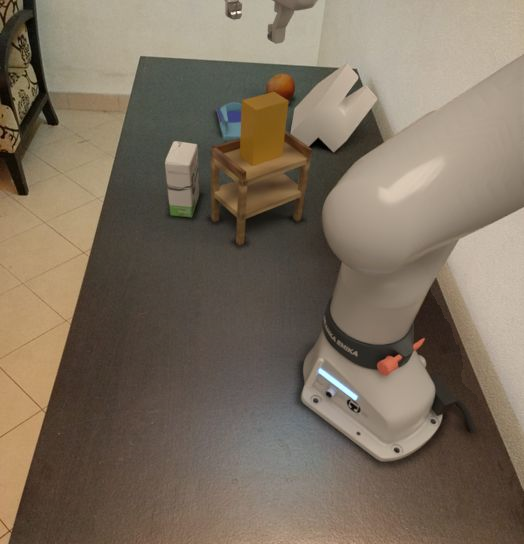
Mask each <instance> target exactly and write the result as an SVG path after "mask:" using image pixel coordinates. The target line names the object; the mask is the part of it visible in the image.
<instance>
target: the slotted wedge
mask: <svg viewBox="0 0 524 544" xmlns="http://www.w3.org/2000/svg"><path fill="white" fill-rule="evenodd" d="M358 80H359V75H358V74H357V73H356V72H355V71H354V69H353V68H352V67H351V66H350V65H349V64H348V63H347V62H346V63H344V64H343V65H341V66H340V67H339V68H337V69H336V70H335V71H333V72H332V73H330V74H329V75H328V76H326V77H325V78H323V79H322V80H321V81H319V82H318V83H316V85H315V86H314V87H313V88H312V89H311V90H310V91H309V92H308V93H307V95H305V97H304V98H303V99H301V101H300V102H298V104H297V105H296V106H295V107H294V109H293V116H292V121H291V127H290V132H289V133H290V134H291V135H293V136H294V137H295V138H297V139H298V140H300V141H301V142H303V143H304V144H306V145H307V146H309V147H310V146H311V145H312V144H313V143H314V142H315V141H317V139H319V140H320V141H322V143H323V144H324V145H325V146H327V148H328V149H329V150H330V151H331V152H332V153H335V152H336V151H337V150H338V149H339V148H341V147H342V145H344V144H345V143H346V142H347V141H348V139H349V138H350V137H351V135H352V134H353V133H354V131H355V130H356V129H357V127H358V126H359V125H360V123H361V122H362V121H363V119H364V118H365V117H366V115H367V114H368V113H369V112H370V110H371V109H372V108H373V107H374V105H375V104H376V103H377V101H378V97H377V96H376V94H375V93H374V92H373V91H372V90H371V89H370V87H368V85H367V84H365V85H363V86H362V87H359V89H356V90H355V91H354V92H352V93H351V94H349V95H348V93H349V92H350V91H351V89H352V88H353V86H354V85H355V84H356V83H357V82H358ZM347 95H348V96H347Z"/></svg>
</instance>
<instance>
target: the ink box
mask: <svg viewBox="0 0 524 544" xmlns="http://www.w3.org/2000/svg"><path fill="white" fill-rule="evenodd" d="M164 168H165V179H166V189H167V199H168V207H169V208H168V209H169V215H170V216H173V217H183V218H193V217H194V213H195V210H196V207H197V203H198V200H199V196H200V177H199V174H200V173H199V149H198V144H197V143H191V142H185V141H178V140H174V141H172V144H171V146H170V149H169V150H168V152H167V156H166V158H165V160H164Z"/></svg>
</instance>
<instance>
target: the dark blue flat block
mask: <svg viewBox="0 0 524 544" xmlns="http://www.w3.org/2000/svg"><path fill="white" fill-rule="evenodd" d="M221 107H222V106H219V107H217V108H216V114H217V118H218V122H219V124H220V122H222V120H223V118H222V114H221V111H220V108H221ZM227 118H228V123H237V122H241V112H239V111H230V112H227Z"/></svg>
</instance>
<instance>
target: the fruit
mask: <svg viewBox="0 0 524 544" xmlns="http://www.w3.org/2000/svg"><path fill="white" fill-rule="evenodd" d="M265 86H266V87H265V90H266V94H267V93H271V92H275V93H277V94H279V95H280V96H282V97H283V98H285V99H286V100H288V101H289V102H288V105H290V103H291V100H292V98H293V97H294V95H295V92H296V84H295V81H294V79H293V78H292V76H291V75H289V74H288V73H278V74H277V73H276V74H275V75H273V76H272V77H271V78H270V79H269V80H268V81H267V83H266V85H265Z"/></svg>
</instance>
